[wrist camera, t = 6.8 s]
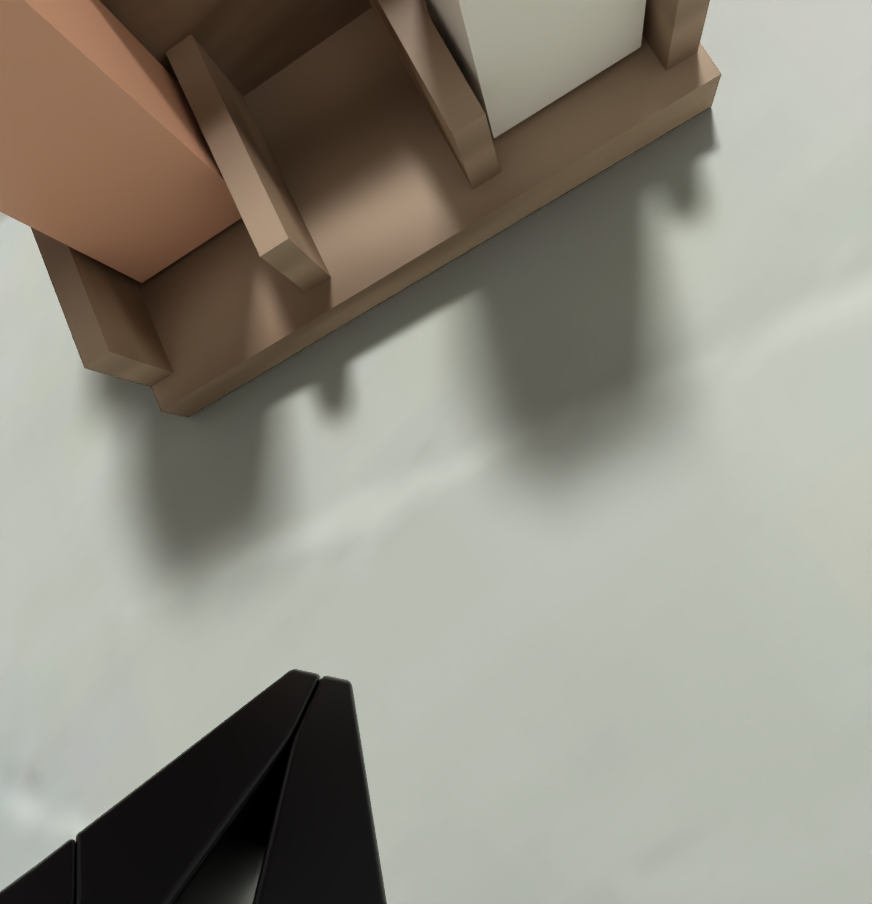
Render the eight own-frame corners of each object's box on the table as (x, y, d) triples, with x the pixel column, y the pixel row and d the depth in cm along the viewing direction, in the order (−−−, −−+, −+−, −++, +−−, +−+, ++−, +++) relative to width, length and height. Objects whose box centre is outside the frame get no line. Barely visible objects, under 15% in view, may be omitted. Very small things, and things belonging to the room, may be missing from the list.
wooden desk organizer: (711, 106, 20) (801, -187, 11) (187, 417, 23) (-34, 366, 15) (565, -113, 21) (550, -501, 13) (101, 207, 25) (-138, 59, 17)
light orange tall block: (255, 208, 21) (-23, -42, 12) (141, 283, 22) (-206, 107, 12) (213, 118, 22) (-81, -187, 12) (104, 193, 23) (-250, -38, 13)
